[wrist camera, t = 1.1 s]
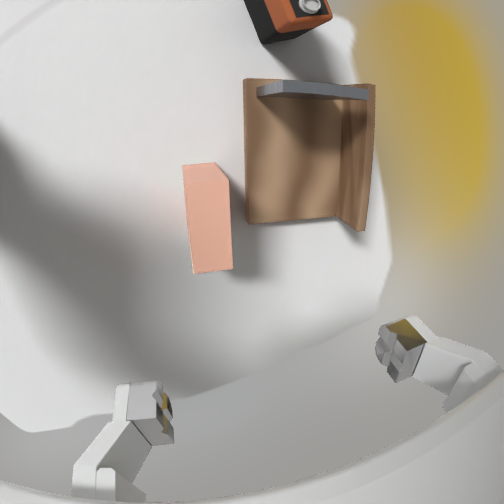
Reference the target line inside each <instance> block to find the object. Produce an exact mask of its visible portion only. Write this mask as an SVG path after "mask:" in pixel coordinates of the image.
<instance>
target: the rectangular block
mask: <svg viewBox="0 0 504 504" xmlns="http://www.w3.org/2000/svg"><path fill="white" fill-rule="evenodd" d="M182 167H183V180H184V192H185V203H186V213H187V223H188V236H189V244H190V252H191V260H192V268H193V274H199V273H207V272H214V271H222V270H230V269H233V259H232V239H231V218H230V195H229V179H228V178H227V177H226V176H225V174H224V173H223V172H222V171H221V169H220V168H219V167H218V166H217V164H216V163H215V162H213V163H202V164H192V165H182Z"/></svg>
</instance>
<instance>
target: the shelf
mask: <svg viewBox="0 0 504 504" xmlns="http://www.w3.org/2000/svg"><path fill="white" fill-rule="evenodd" d="M280 80H282V79H253V78H246V79H244V80H243V104H244V152H245V196H246V221H247V222H248V224H259V223H268V222H278V221H288V220H299V219H310V218H321V217H332V216H337V217H338V218H339V219H341V220H342V221H344V222H345V223H346V224H348V225H349V226H351V227H352V228H353V229H355V230H356V231H357V232H359V231H365V226H366V219H367V211H368V202H369V193H370V183H371V173H372V160H373V146H374V126H375V85H372V84H353V85H343V86H350V87H356V88H362V89H368V90H369V100H319V99H305V98H286V97H256V88H257V87H260V86H263V85H266V84H269V83H273V82H276V81H280Z"/></svg>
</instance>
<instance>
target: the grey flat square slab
mask: <svg viewBox="0 0 504 504" xmlns="http://www.w3.org/2000/svg"><path fill="white" fill-rule="evenodd" d="M256 97H286V98H305V99H319V100H369V90H368V89H362V88H356V87H350V86H343V85H336V84H328V83H319V82H309V81H297V80H280V81H276V82H273V83H269V84H266V85H263V86H260V87H257V88H256Z"/></svg>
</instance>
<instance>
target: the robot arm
mask: <svg viewBox="0 0 504 504" xmlns="http://www.w3.org/2000/svg"><path fill="white" fill-rule="evenodd" d="M378 334H379V335H380V336H381V337H380V338H379V339H378V341H377V342H376V347H375V350H376V355H377V357H378V360H379V361H380V363H381V364H383V365H385V366H387V372H388V374H389V375H390V377H391V378H392V379H393V381H394V382H395V383H397V382H399V381H401V380H404V379H406V378H408V377H411V376H413V377H414V378H416V379H418V380H420V381H421V382H423V383H425V384H427V385H429V386H431V387H433V388H435V389H437V390H438V391H440V392H442V393H444V394H446V395H448V397H447V399H446V400H445V402H444V403H443V408H444V410H445V411H446V414H444V415H443V416H441V417H440V418H438V419H437V420H435V421H433V422H431V423H430V424H428V425H427V426H425V427H423V428H421V429H419V430H418V431H416V432H414V433H412V434H410V435H409V436H407V437H405V438H403V439H401V440H399V441H397V442H395V443H393V444H391V445H389V446H387V447H385V448H383V449H381V450H379V451H377V452H374V453H372V454H370V455H367V456H365V457H363V458H360V459H358V460H356V461H353V462H351V463H348V464H345V465H343V466H340V467H338V468H335V469H332V470H329V471H326V472H323V473H321V474H317V475H314V476H311V477H308V478H305V479H301V480H298V481H295V482H291V483H287V484H283V485H280V486H276V487H271V488H267V489H263V490H258V491H254V492H249V493H243V494H237V495H231V496H224V497H218V498H210V499H200V500H190V501H176V502H146V494H145V493H144V492H143V491H141V490H140V489H138V488H137V487H136V486H134V485H133V484H132V483H133V481H134V479H135V477H136V476H137V474H138V472H139V470H140V468H141V467H142V465H143V463H144V461H145V459H146V457H147V456H148V454H149V452H150V450H151V448H152V446H156V445H165V444H174V432H173V427H172V425H171V424H170V420H171V419H172V418H173V417H172V408H171V403H170V400H169V398H168V396H167V394H166V393H164V392H163V386H162V384H161V383H160V381H158V380H157V381H148V382H136V383H126V384H118V386H117V388H116V394H115V402H114V410H113V420H112V422H108V423H107V425H106V426H105V427H104V428H103V429H102V431H101V432H100V433H99V434H98V436H97V437H96V438H95V439H94V441H93V442H92V443H91V444H90V446H89V447H88V448H87V449H86V451H85V452H84V453H83V455H81V457H80V458H79V459H78V460H77V462H76V463H75V464H74V469H73V479H72V491H71V496H64V495H59V494H54V493H48V492H44V491H39V490H35V489H31V488H27V487H23V486H20V485H16V484H13V483H10V482H6V481H3V480H0V504H504V371H503V369H502V368H501V367H500V366H499V365H498V364H497V363H496V362H495V361H494V360H493V359H492V358H491V357H490V356H489V355H488V354H487V353H486V352H484V351H481V350H478V349H476V348H473V347H469V346H467V345H463V344H461V343H458V342H455V341H452V340H449V339H446V338H443V337H438V338H437V337H436V336H435V335H434V334H433V332H431V330H430V329H429V328H428V327H427V326H426V325H425V324H424V323H423V322H422V321H421V320H420V319H419V318H418V317H417V316H416V315H413V314H411V315H409V316H406V317H404V318H401V319H398V320H396V321H393V322H390V323H388V324H385V325H382V326H381V327H380V329H379V333H378Z"/></svg>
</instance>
